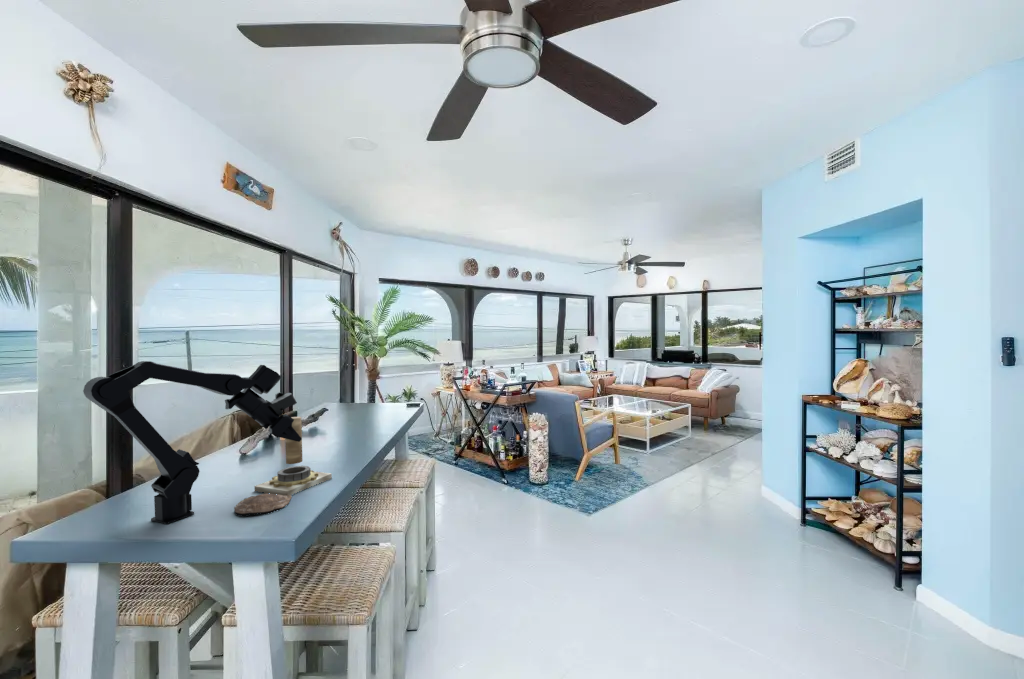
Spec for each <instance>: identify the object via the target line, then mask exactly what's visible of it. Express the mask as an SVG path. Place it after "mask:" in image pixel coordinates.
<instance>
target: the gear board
mask: <svg viewBox="0 0 1024 679" xmlns="http://www.w3.org/2000/svg"><path fill="white" fill-rule="evenodd" d="M276 473H277V475H274V476H273V477H271V479H270V480H267V481H264V482H262V483H258V484H256V485H254V486H253V487H254V492H256V491H258V493H262V492H264V493H263V494H268V493H270V494H277V495H291V496H293V495H295V494H298V493H300V492H302V490H303V491H305V490H307V489H309V487H310V488H312V487H315V486H317V485H320V484H322V483H324V482H326V480H327V481H330V480H332V479H333V478H332V477H333V476H332V472H331V473H330V472H321V471H315V470H312V469H311V467H310V466H308V465H295V466H289V467H285V468H282V469H280V470H278V471H277V472H276ZM331 478H332V479H331ZM321 482H322V483H321ZM319 483H320V484H319ZM316 484H317V485H316ZM314 485H315V486H314ZM311 486H312V487H311ZM306 488H307V489H306ZM304 489H305V490H304ZM299 491H300V492H299ZM297 492H298V493H297ZM294 493H295V494H294ZM292 494H293V495H292Z"/></svg>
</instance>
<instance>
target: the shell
mask: <svg viewBox="0 0 1024 679" xmlns="http://www.w3.org/2000/svg"><path fill="white" fill-rule="evenodd" d="M292 498H293V497H292V495H276V494H268V493H260V494H257V495H252V496H250V497H246V498H244V499H243V500H241V501H239V502H238V503H236V505H235V506H234V508H233V509H234V514H235V515H236V516H239V517H243V518H244V517H247V516H253V517H254V516H258V515H264V514H265V515H269V514H272V513H274V511H275V512H278V511H280V509H281V510H282V509H284V508H286V507H287V506H288V505H289V504H290V503H291V499H292ZM289 502H290V503H289ZM286 505H287V506H286ZM285 506H286V507H285ZM277 510H278V511H277ZM271 512H272V513H271ZM268 513H269V514H268Z"/></svg>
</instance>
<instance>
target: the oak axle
mask: <svg viewBox="0 0 1024 679" xmlns="http://www.w3.org/2000/svg"><path fill="white" fill-rule="evenodd" d="M290 417H291V418H293V419H294V421H293V423H292V427H293V428H294V430H295V431H296V432H297V433H298V435H299V436H300V437H301V438H302V440H301V441H300V442H298V441H294V440H289V439H285V438H284V439H285V440H284V441H285V442H284V443H285V463H286V465H294V464H295V465H296V464H300V463H302V462H303V435H302V434H303V433H302V432H303V430H302V428H303V427H302V416H290Z"/></svg>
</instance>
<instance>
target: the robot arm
mask: <svg viewBox="0 0 1024 679" xmlns="http://www.w3.org/2000/svg"><path fill="white" fill-rule="evenodd" d="M149 379H152V380H158V381H166V382H170V383H178V384H183V385H187V386H195V387H199V388H201V389H204V390H206V391H209V392H212V393H215V394H217V395H222V396H223V395H224V396H232V397H231V398H226V399H225V400H224V402H225V403H224V404H225V410H231V409H232V408H233V407H237V408H238V409H239V410H241V412H243V413H245V414H246V415H247V416H248V417H250V419H251V418H252V419H253V420H254V421H255V422H257V423H258V424H259V426H261V427H262V428H264V429H265V430H267V429H268V432H269V433H270V434H271V435H272V436H274V437H275V438H277V439H278V438H281V439H289V440H294V441H298V442H300V441H301V440H302V441H303V437H302V438H301V437H300V436H299V435H298V433H297V432H296V431H295V430H294V428H293V427H292V423H293V421H294V419H293V418H291V417H292V416H290V415H289V414H287V413H286V414H283V413H284V410H286V409H288V408H289V407H291V406H295V405H296V404H297V401H296V399H295V397H294V395H293V393H291V392H286V393H284V392H281V391H279V392H277V393H275V395H274V396H275V398H274V399H273V400H272V401H269V400H266V399H264V398H263V397H262V396H260V395H263V394H267V395H268V394H269V393H270V392H271V391H272V390H273V388H274V387H275V386H276V385H277V384H278V383H279V381H281V380H282V376H281V375H280V373H278V372H277V371H274V369H272V368H270V367H267V365H265V364H259V365H258V367H257V368H256V370H254V371H253V373H252V374H251V375H250V376H249V377H242V376H240V375H239V374H234V373H223V372H222V373H219V372H218V373H217V372H213V373H211V372H210V373H209V372H202V371H197V370H192V369H185V368H181V367H175V366H171V365H165V364H161V363H156V362H154V361H150V360H149V361H147V360H141V361H138V362H135V364H133V365H131V366H129V367H127V368H126V367H125V368H123V369H121V370H118V371H116V372H114V373H111V374H109V375H107V376H97V377H94V378H91V379H90V380H88V381H87V382H86V384H85V385H84V387H83V390H82V392H83V394H84V397H86V398H87V399H88V400H89V401H90V402H92V403H93V404H95V405H97V407H99V408H100V409H102V410H103V411H106V412H107V413H109V414H110V415H112V416H113V417H114V418H115V419H116V420H117V421H118V422H119V424H121V426H123V428H124V429H125V430H127V432H128V433H129V434H130V435H131V436H132V437H133V438H134V439H135V441H137V442H138V443H139V445H141V447H142V448H144V450H145V451H146V452H147V453H148V454H149V455H150V456H151V458H153V460H154V461H155V464H156V467H157V469H158V472H159V473H160V475H159V476H158V477H157V479H155V480H154V482H153V483H152V484H151V485H150V486H151V489H152V490H153V492H154V493H157V494H156V495H154V496H153V498H154V499H153V500H154V501H153V502H154V503H153V504H154V516H153V517H151V518H150V521H151V522H154V523H161V524H165V525H167V524H171V523H173V522H174V523H175V522H176V521H178V520H183V519H185V518H187V517H190V516H192V515H194V514H195V511H192V510H193V508H192V507H193V505H192V504H193V503H192V494H191V490H192V487H193V485H194V483H195V482H196V481H197V479H198V478H199V476H200V472H201V471H200V468H199V467H198V465H199V464H200V463H199V462H197V461H195V460H194V459H193V456H192V455H191V453H190V452H188V451H186V450H183V449H180V448H179V449H177V451H176V450H174V448H172V446H171V445H170V444H169V442H168V441H167V440H166V439H164V438H163V436H162V435H161V434H160V433H159V432H158V431H157V430H156V429H155V427H154V426H153V425H152V424H151V423H150V422H149V421H148V420H147V419H146V418H145V416H144V415H143V414H142V413H141V412H140V411H139V409H138V408H136V406H135V404H134V401H133V398H132V395H131V394H130V392H129V391H131V390H133V389H135V388H136V387H139V386H140V385H141V384H142V383H144V382H145V381H147V380H149Z"/></svg>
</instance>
